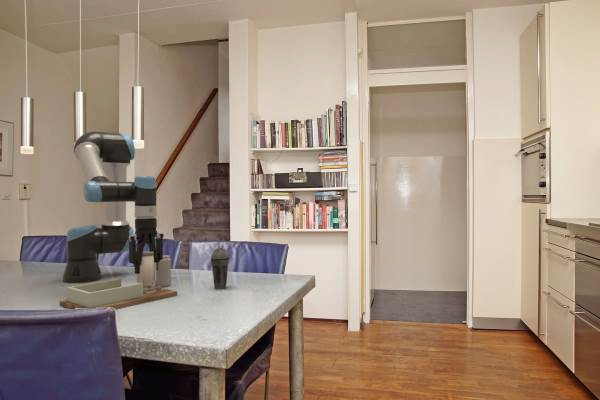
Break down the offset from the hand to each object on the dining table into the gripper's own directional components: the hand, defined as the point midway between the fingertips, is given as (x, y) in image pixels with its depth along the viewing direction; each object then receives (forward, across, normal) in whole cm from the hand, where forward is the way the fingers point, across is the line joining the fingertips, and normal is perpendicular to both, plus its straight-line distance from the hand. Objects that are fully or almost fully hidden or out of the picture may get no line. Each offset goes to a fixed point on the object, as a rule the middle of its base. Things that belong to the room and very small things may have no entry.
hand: (146, 281), depth 157 cm
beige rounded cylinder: (+1, 0, 0) cm, 1 cm away
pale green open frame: (+3, -15, 0) cm, 16 cm away
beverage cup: (+5, +24, -13) cm, 28 cm away
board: (+5, -10, 0) cm, 11 cm away
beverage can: (+5, +13, +9) cm, 17 cm away
